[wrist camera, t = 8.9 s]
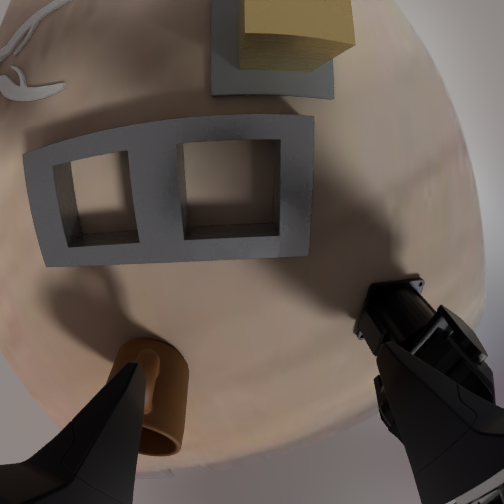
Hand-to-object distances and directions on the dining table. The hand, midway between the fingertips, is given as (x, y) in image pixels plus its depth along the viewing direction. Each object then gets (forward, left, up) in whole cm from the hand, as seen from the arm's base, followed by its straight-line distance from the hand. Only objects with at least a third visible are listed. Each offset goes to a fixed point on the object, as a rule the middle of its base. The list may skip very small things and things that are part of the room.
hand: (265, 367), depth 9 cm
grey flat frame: (+6, -4, -12) cm, 14 cm away
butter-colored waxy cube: (-2, -14, -11) cm, 18 cm away
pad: (-2, -14, -12) cm, 19 cm away
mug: (+9, +11, -12) cm, 19 cm away
